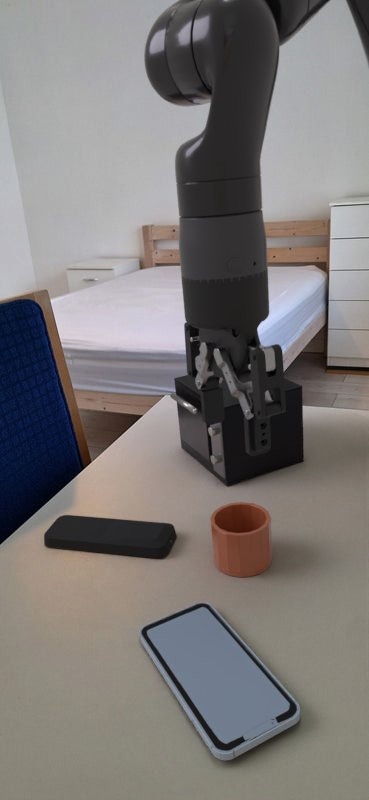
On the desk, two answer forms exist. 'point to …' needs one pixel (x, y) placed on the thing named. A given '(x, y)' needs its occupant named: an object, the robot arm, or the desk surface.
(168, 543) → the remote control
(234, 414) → the toaster oven
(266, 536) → the cup
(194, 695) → the smartphone
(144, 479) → the desk surface
